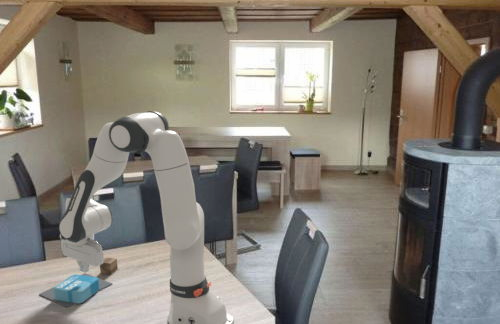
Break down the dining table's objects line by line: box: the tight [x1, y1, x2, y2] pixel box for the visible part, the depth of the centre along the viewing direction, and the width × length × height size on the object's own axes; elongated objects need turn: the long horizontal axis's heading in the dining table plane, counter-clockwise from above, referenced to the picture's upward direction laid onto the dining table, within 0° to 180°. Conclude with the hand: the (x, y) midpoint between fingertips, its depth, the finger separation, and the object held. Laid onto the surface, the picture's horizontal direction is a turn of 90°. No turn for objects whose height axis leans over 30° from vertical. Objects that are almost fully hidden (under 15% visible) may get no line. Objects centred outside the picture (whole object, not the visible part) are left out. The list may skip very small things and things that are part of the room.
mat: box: [38, 272, 113, 308], centre depth 161 cm, size 17×20×1 cm
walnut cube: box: [99, 257, 119, 275], centre depth 176 cm, size 5×5×5 cm
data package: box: [54, 274, 100, 304], centre depth 157 cm, size 12×4×12 cm
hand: (84, 271), depth 156 cm, fingers closed
